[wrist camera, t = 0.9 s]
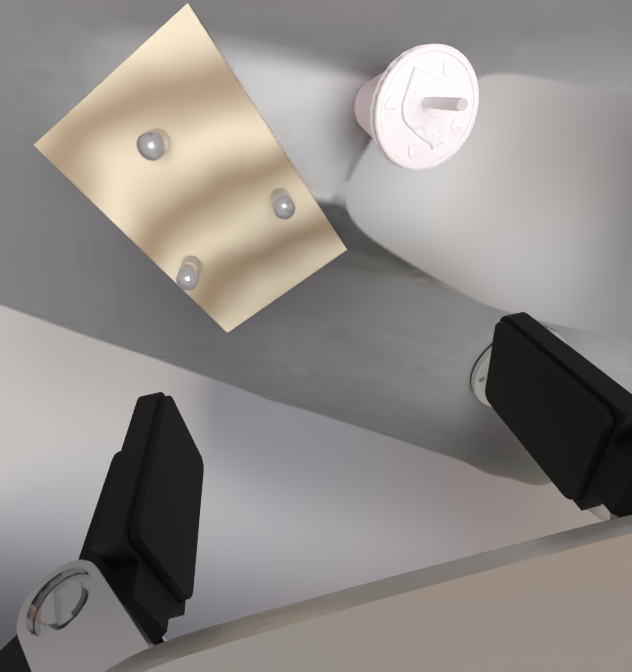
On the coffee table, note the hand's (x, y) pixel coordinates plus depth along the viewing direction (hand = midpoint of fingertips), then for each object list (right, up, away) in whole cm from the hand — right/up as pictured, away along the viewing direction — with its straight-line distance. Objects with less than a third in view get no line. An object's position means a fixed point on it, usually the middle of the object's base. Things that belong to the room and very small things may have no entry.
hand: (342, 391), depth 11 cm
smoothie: (+4, +20, +19) cm, 28 cm away
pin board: (-9, +13, +20) cm, 26 cm away
